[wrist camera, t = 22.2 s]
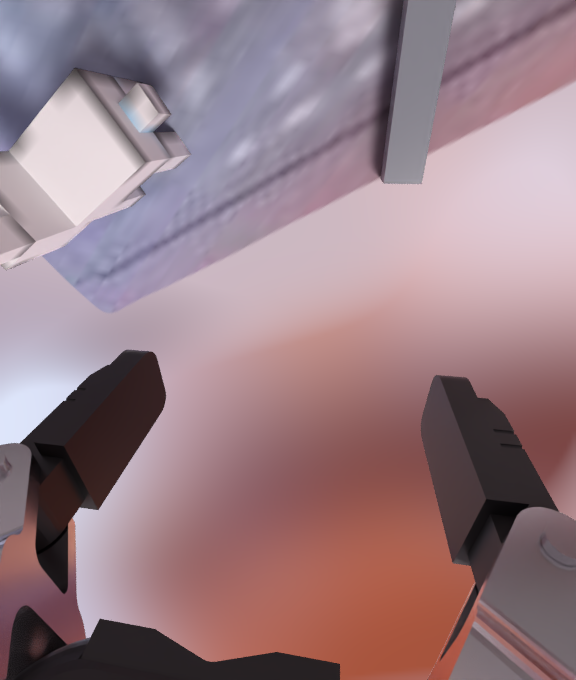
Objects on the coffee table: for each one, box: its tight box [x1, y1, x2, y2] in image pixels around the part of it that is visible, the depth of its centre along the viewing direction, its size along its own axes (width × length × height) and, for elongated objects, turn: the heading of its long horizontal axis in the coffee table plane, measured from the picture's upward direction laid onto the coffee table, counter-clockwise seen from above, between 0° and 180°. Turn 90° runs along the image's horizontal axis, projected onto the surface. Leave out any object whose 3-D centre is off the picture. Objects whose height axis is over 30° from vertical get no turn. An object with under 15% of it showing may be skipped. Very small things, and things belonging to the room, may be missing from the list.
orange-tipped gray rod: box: [381, 0, 456, 184], centre depth 26 cm, size 6×24×5 cm, turn 0°
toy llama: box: [0, 68, 191, 270], centre depth 29 cm, size 8×18×20 cm, turn 124°
